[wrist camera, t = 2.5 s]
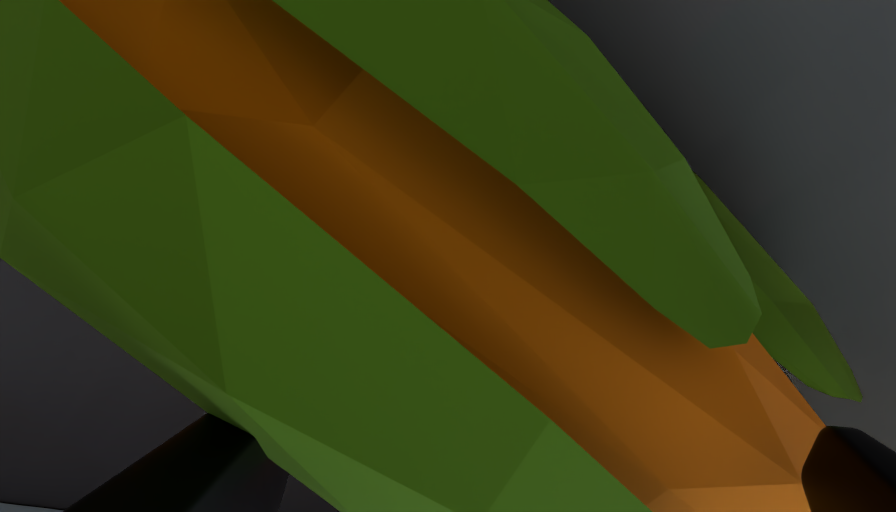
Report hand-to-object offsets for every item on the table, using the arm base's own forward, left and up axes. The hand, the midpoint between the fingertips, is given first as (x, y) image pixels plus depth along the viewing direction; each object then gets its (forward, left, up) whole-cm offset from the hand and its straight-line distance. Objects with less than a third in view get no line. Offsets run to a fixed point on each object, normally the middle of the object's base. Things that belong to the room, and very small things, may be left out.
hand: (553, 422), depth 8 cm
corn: (0, 0, -6) cm, 6 cm away
